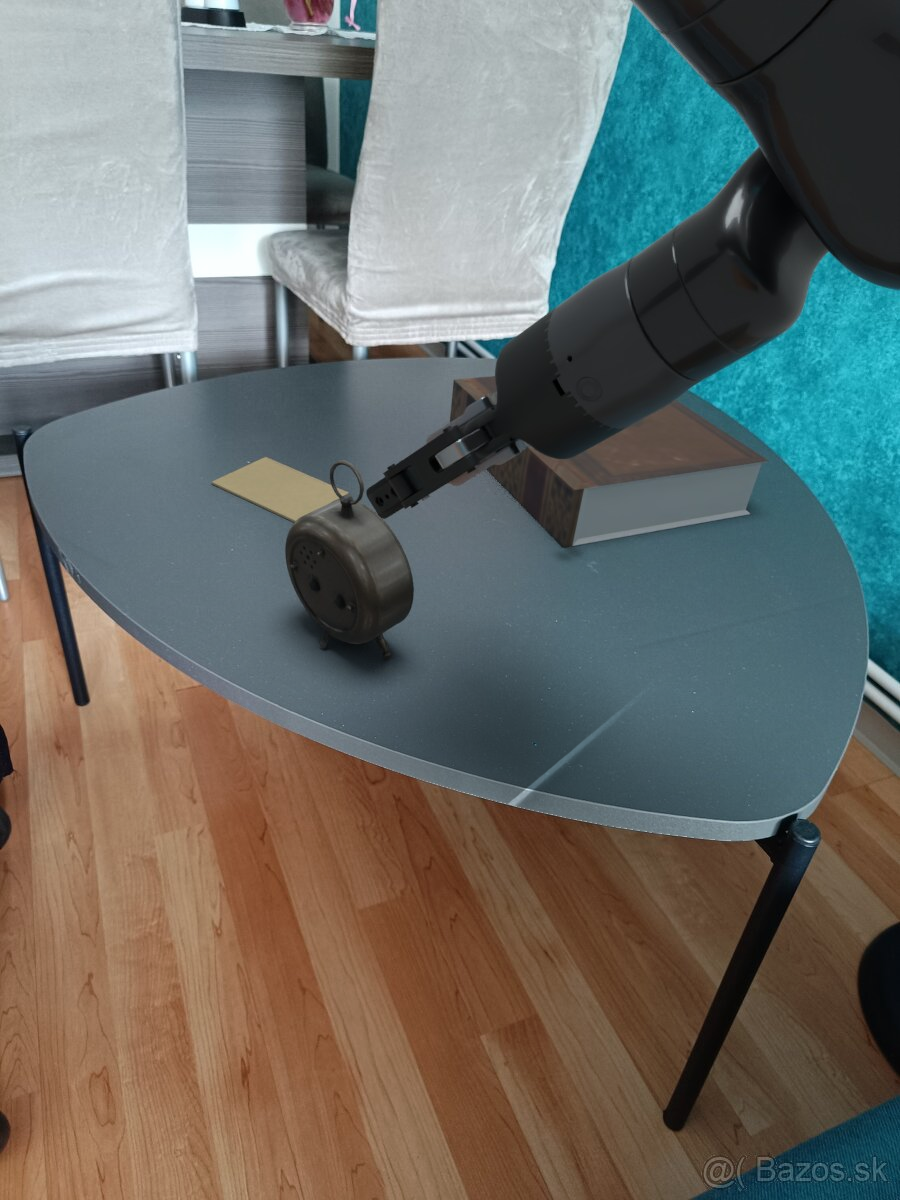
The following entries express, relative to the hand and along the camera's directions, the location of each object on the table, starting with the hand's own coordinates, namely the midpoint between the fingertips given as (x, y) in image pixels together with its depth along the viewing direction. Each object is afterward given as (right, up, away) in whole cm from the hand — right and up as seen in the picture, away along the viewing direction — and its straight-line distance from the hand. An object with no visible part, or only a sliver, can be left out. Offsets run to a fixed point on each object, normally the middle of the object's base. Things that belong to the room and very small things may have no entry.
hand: (415, 481), depth 56 cm
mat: (-16, +4, +32) cm, 35 cm away
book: (+19, +7, +42) cm, 47 cm away
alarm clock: (-6, -11, +13) cm, 18 cm away
